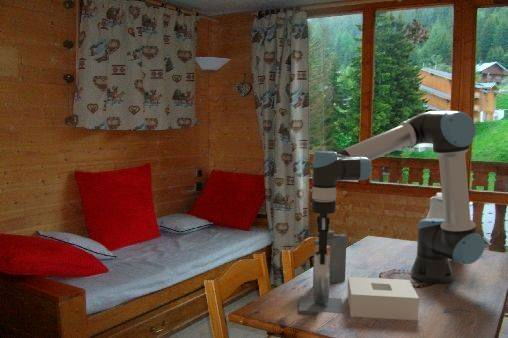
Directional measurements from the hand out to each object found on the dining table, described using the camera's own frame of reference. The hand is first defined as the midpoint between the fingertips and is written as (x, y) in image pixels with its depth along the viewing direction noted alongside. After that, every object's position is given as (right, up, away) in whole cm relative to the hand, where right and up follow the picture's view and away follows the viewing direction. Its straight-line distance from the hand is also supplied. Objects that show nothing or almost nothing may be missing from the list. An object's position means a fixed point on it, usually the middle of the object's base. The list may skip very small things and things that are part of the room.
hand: (321, 270), depth 155 cm
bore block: (+19, -13, -1) cm, 23 cm away
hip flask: (+6, -10, +24) cm, 26 cm away
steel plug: (0, -10, +1) cm, 10 cm away
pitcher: (+61, -6, +60) cm, 86 cm away
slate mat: (0, -12, +1) cm, 12 cm away
